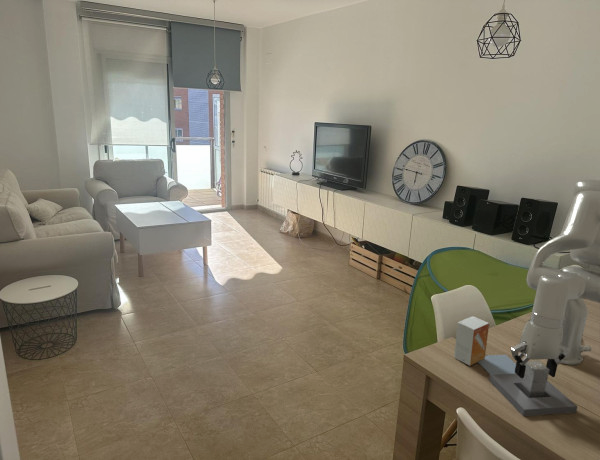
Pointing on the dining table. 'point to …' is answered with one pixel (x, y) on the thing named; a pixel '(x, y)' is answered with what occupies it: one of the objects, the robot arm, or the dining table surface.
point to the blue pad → (498, 364)
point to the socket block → (532, 406)
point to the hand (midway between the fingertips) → (534, 374)
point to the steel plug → (534, 379)
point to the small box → (471, 340)
